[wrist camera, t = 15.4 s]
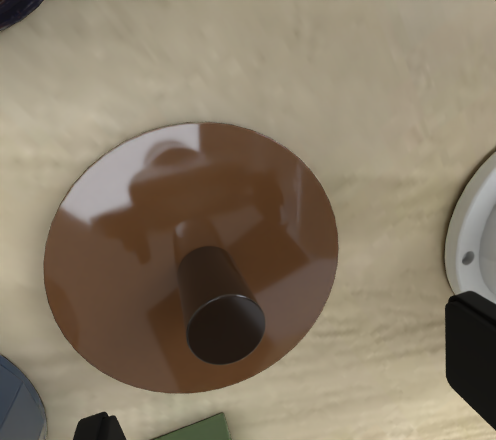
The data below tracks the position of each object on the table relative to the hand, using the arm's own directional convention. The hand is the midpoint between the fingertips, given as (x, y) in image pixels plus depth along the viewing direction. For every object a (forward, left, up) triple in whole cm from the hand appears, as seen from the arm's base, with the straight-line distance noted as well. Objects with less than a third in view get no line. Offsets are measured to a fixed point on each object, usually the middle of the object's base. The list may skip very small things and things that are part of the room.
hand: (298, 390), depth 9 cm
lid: (+1, 0, -8) cm, 8 cm away
